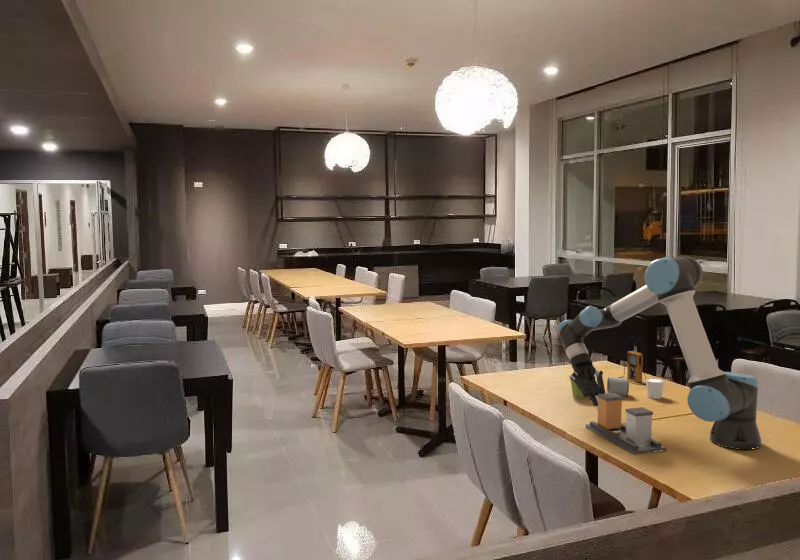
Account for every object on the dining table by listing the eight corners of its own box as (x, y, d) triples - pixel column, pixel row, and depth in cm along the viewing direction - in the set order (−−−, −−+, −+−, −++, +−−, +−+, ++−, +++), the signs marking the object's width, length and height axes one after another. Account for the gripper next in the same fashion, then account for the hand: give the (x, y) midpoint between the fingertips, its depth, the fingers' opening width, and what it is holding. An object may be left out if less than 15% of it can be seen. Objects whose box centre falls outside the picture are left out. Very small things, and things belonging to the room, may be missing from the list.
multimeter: (608, 378, 303) (609, 335, 301) (627, 376, 306) (628, 334, 304) (628, 386, 289) (630, 341, 287) (647, 384, 292) (649, 340, 290)
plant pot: (564, 397, 273) (564, 376, 272) (577, 392, 279) (577, 372, 279) (583, 401, 266) (584, 380, 265) (596, 397, 272) (597, 376, 272)
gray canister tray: (585, 427, 234) (586, 394, 233) (615, 424, 238) (615, 391, 236) (633, 454, 207) (634, 417, 206) (665, 450, 211) (667, 414, 209)
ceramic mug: (629, 398, 271) (629, 379, 270) (608, 397, 272) (609, 379, 272) (625, 391, 281) (625, 374, 281) (605, 391, 283) (605, 373, 282)
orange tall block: (596, 424, 232) (597, 394, 231) (612, 423, 234) (613, 392, 233) (605, 429, 227) (606, 398, 226) (621, 427, 229) (622, 396, 228)
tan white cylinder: (667, 398, 270) (667, 381, 270) (653, 400, 268) (654, 383, 267) (654, 394, 277) (655, 377, 276) (641, 395, 274) (642, 379, 273)
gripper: (590, 362, 253) (614, 417, 238) (560, 364, 249) (582, 420, 235) (598, 351, 247) (623, 406, 233) (567, 353, 244) (591, 409, 229)
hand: (603, 413), depth 234 cm, fingers closed
